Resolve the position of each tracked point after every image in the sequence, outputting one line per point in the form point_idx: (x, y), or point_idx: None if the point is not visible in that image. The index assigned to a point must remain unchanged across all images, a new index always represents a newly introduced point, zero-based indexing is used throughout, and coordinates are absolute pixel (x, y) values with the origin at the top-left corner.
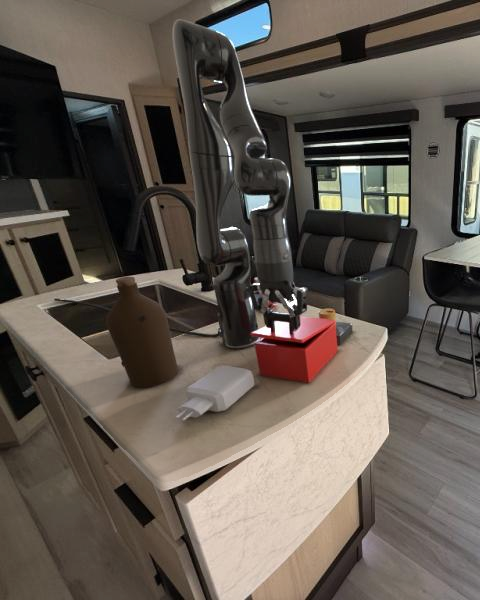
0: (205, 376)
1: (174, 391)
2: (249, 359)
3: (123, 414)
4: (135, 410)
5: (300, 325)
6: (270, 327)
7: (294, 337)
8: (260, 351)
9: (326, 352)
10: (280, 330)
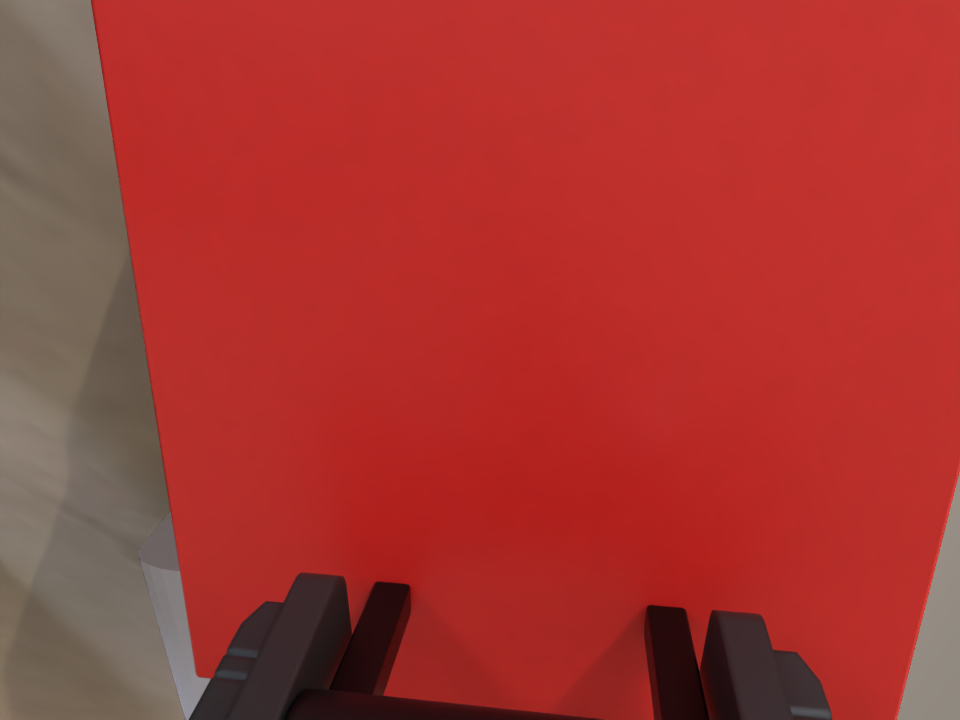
0: (185, 668)
1: (57, 578)
2: (115, 219)
3: (46, 705)
4: (58, 686)
5: (812, 672)
6: (350, 636)
7: None
8: None
9: None
10: (450, 541)
